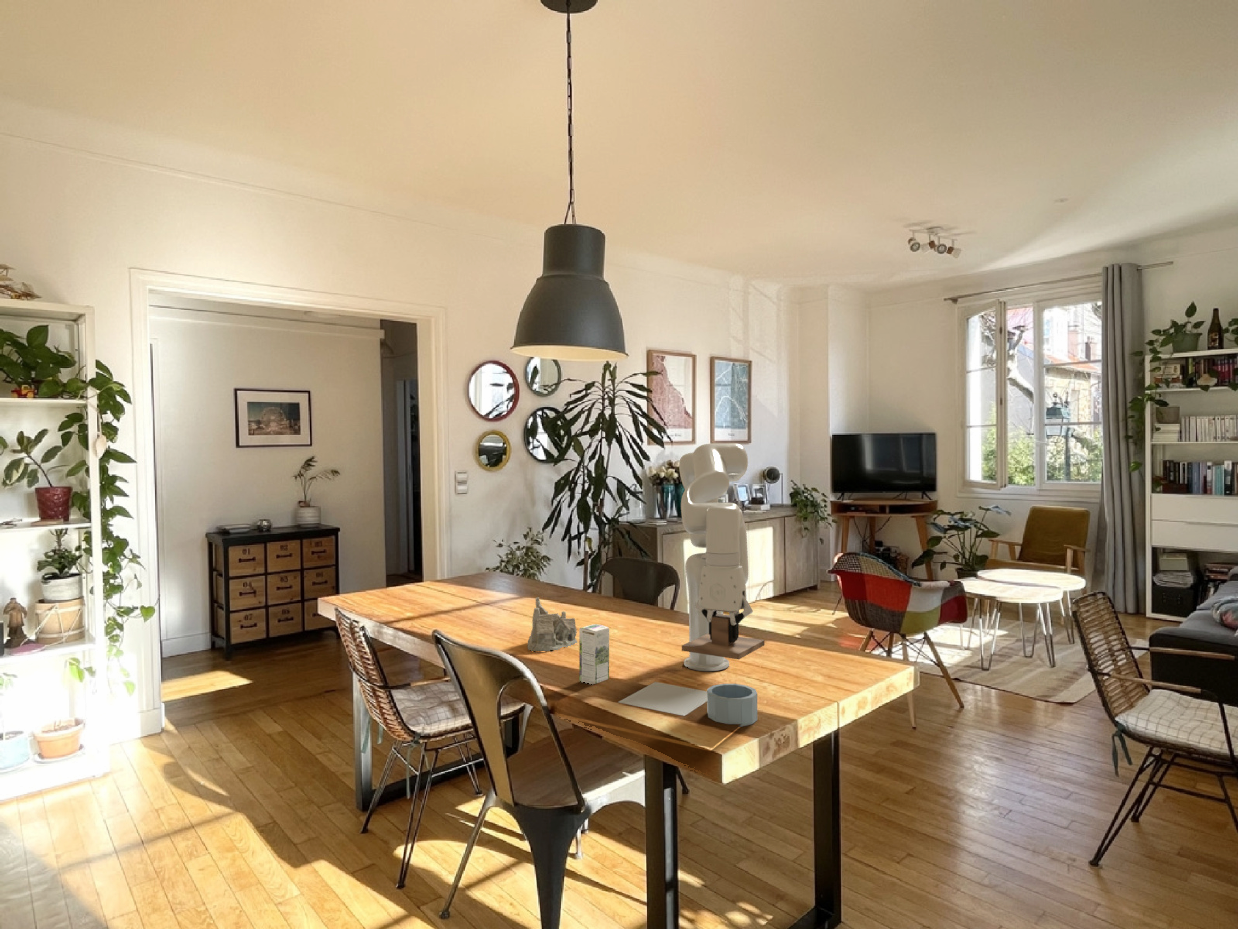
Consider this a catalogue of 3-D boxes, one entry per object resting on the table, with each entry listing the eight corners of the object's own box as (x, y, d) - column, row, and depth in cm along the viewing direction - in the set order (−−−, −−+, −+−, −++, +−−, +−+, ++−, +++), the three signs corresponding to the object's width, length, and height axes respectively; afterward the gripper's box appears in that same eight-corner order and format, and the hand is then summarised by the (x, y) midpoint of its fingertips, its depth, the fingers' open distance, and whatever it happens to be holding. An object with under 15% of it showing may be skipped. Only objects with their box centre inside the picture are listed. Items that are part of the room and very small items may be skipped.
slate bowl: (720, 706, 178) (720, 681, 178) (764, 714, 172) (764, 688, 172) (699, 720, 169) (699, 694, 169) (745, 730, 163) (744, 702, 163)
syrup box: (593, 676, 202) (592, 623, 202) (610, 680, 199) (609, 626, 198) (579, 682, 198) (578, 627, 198) (595, 686, 194) (595, 630, 194)
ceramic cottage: (523, 652, 227) (526, 602, 228) (530, 640, 244) (532, 594, 244) (575, 654, 227) (577, 605, 228) (578, 642, 244) (580, 596, 244)
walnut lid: (709, 637, 181) (709, 607, 181) (764, 645, 173) (764, 614, 173) (681, 650, 169) (681, 618, 169) (738, 659, 162) (738, 626, 162)
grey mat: (655, 684, 195) (655, 682, 195) (718, 696, 186) (718, 693, 186) (617, 704, 180) (617, 702, 180) (684, 718, 170) (684, 715, 170)
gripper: (682, 559, 173) (683, 639, 173) (750, 564, 163) (751, 648, 164) (697, 555, 179) (698, 632, 179) (763, 560, 170) (764, 641, 170)
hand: (723, 639), depth 171 cm, fingers closed on walnut lid, 4 cm apart
